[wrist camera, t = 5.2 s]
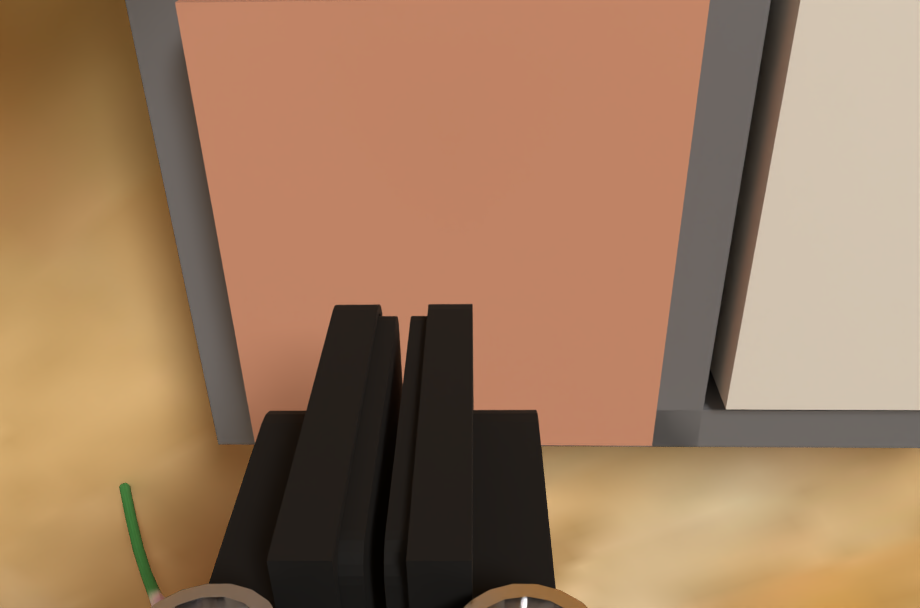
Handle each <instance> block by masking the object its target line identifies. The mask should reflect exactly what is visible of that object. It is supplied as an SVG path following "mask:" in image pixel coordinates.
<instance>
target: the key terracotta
mask: <svg viewBox="0 0 920 608" xmlns="http://www.w3.org/2000/svg"><path fill="white" fill-rule="evenodd" d="M709 4H710V0H178V1H177V2H175V5H176V11H177V16H178V22H179V27H180V33H181V39H182V44H183V50H184V55H185V61H186V66H187V72H188V77H189V83H190V88H191V94H192V99H193V105H194V110H195V116H196V121H197V127H198V132H199V138H200V143H201V149H202V154H203V160H204V165H205V171H206V176H207V182H208V187H209V193H210V198H211V204H212V209H213V215H214V220H215V226H216V231H217V237H218V242H219V248H220V253H221V259H222V264H223V270H224V275H225V281H226V286H227V292H228V297H229V303H230V308H231V314H232V319H233V325H234V330H235V336H236V342H237V347H238V353H239V358H240V364H241V369H242V375H243V380H244V386H245V391H246V397H247V402H248V408H249V413H250V419H251V424H252V430H253V435H254V441H255V442H256V439H257V436H258V433H259V430H260V427H261V424H262V421H263V419H264V417H265V415H266V414H267V413H268V412H269V411H306V410H307V406H308V402H309V398H310V395H311V391H312V387H313V383H314V380H315V376H316V372H317V368H318V365H319V361H320V357H321V353H322V349H323V346H324V342H325V338H326V334H327V331H328V327H329V323H330V319H331V316H332V312H333V309H334V306H335V305H374V304H380V306H381V309H382V316H397V317H398V321H399V333H400V349H401V365H402V381H403V378H404V370H405V361H406V353H407V344H408V336H409V327H410V319H411V316H427V313H428V305H429V304H473V394H474V410H537V413H538V420H539V430H540V439H541V445H589V446H652V442H653V434H654V426H655V419H656V411H657V403H658V396H659V388H660V380H661V373H662V365H663V357H664V349H665V342H666V334H667V326H668V319H669V311H670V303H671V296H672V288H673V280H674V273H675V265H676V257H677V250H678V242H679V234H680V226H681V219H682V211H683V203H684V196H685V188H686V180H687V173H688V165H689V157H690V150H691V142H692V134H693V127H694V119H695V111H696V104H697V96H698V88H699V80H700V73H701V65H702V57H703V50H704V42H705V34H706V27H707V19H708V11H709Z"/></svg>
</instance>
